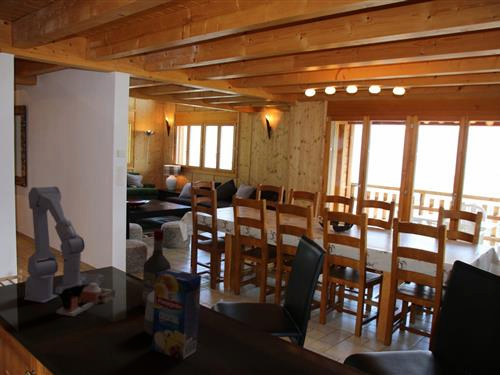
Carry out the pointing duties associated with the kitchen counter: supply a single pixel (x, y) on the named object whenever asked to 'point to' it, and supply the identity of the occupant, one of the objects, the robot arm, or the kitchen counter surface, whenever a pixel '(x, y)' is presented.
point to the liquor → (154, 266)
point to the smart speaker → (149, 314)
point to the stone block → (92, 279)
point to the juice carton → (176, 313)
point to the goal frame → (106, 294)
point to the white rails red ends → (85, 297)
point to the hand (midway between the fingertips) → (70, 306)
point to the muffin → (94, 288)
